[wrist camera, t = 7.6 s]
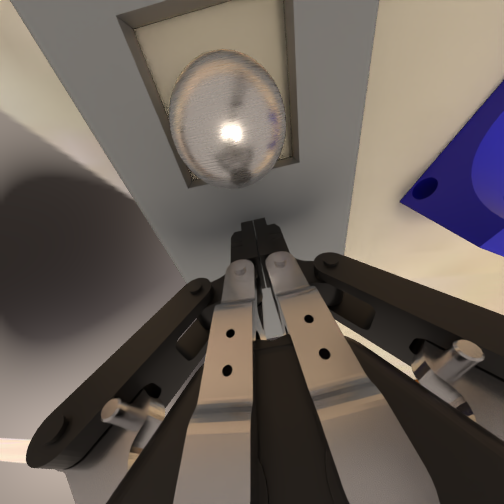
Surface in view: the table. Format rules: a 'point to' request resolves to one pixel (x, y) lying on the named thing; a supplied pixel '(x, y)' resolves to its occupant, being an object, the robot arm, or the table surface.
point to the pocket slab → (162, 145)
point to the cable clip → (468, 180)
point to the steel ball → (227, 119)
